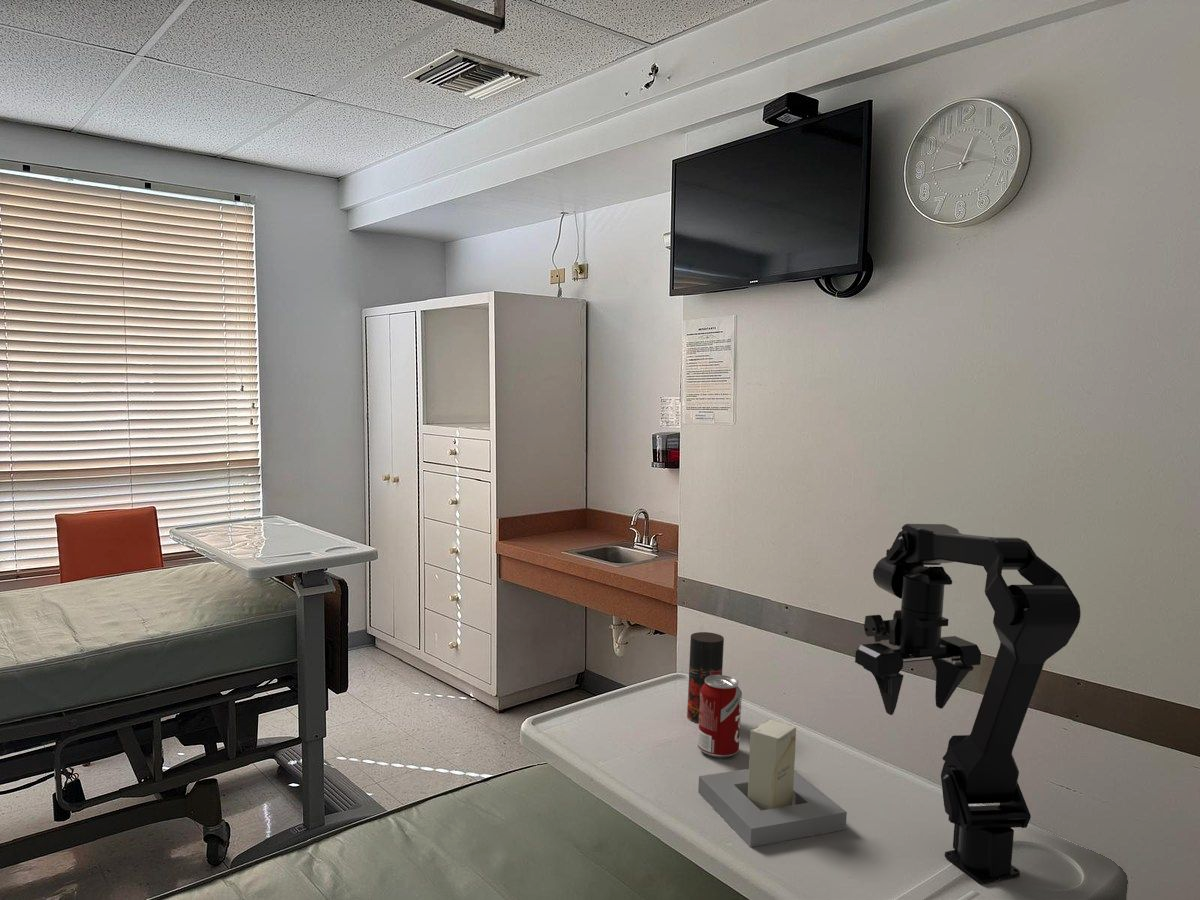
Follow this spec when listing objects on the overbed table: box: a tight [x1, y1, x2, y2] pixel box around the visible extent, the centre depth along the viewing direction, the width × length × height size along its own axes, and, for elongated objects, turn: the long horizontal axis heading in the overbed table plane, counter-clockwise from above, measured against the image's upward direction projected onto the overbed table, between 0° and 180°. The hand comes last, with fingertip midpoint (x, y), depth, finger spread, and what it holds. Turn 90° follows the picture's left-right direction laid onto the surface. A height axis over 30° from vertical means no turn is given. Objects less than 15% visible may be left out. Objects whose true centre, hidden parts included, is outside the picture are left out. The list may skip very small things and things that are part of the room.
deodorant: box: [686, 631, 725, 725], centre depth 149 cm, size 6×6×15 cm
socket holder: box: [697, 768, 848, 848], centre depth 117 cm, size 15×15×2 cm
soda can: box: [697, 674, 743, 759], centre depth 135 cm, size 7×7×12 cm
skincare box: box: [748, 718, 797, 811], centre depth 117 cm, size 6×4×12 cm
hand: (914, 710), depth 122 cm, fingers open, 9 cm apart
